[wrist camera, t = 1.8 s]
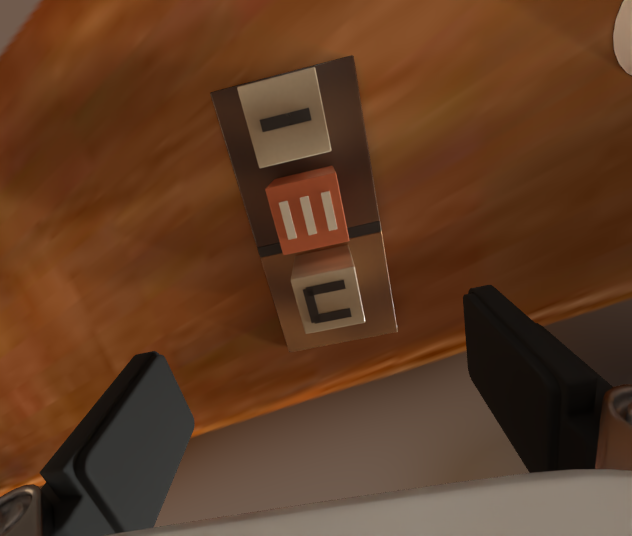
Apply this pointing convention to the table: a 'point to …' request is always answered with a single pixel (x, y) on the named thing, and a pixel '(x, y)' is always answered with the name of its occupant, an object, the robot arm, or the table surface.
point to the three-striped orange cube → (307, 210)
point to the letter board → (355, 195)
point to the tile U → (327, 289)
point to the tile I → (285, 117)
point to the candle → (624, 36)
